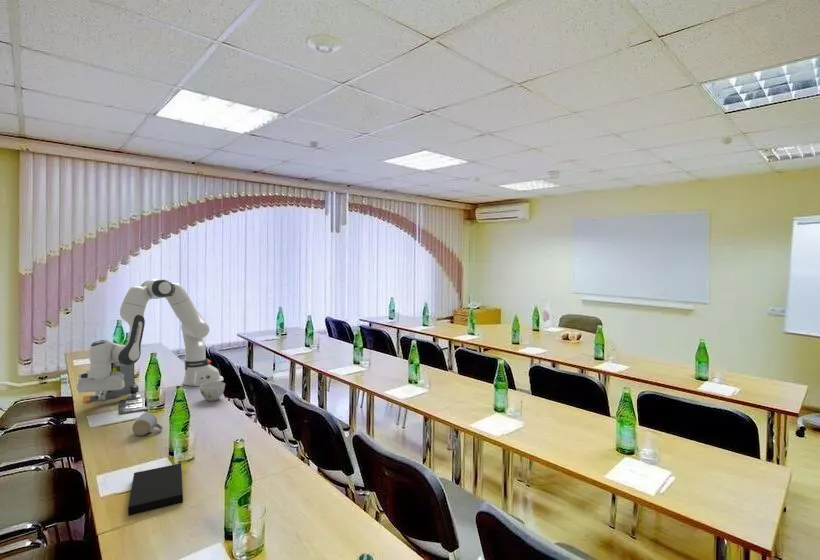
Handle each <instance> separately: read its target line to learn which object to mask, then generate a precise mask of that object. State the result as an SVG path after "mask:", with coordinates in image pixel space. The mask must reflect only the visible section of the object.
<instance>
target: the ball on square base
mask: <svg viewBox="0 0 820 560" xmlns="http://www.w3.org/2000/svg"><path fill="white" fill-rule="evenodd" d="M140 397H141V394H140V393H139V394H137V393H131V394H129V395H127V396H126V399H133V398H140Z"/></svg>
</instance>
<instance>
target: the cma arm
mask: <svg viewBox="0 0 820 560" xmlns="http://www.w3.org/2000/svg"><path fill="white" fill-rule="evenodd" d="M131 393H136V394H137V393H139V385H137V386H130V387H126V388H123V389H122V390H112V391H108V392H107V393H106V395H105V399H104V400H103V401H105V400H107V399H108V400H109V399H114V398H113V397H115V398H117V397H122V396H126V395H127V396H128V395H131ZM100 394H101V395H103V394H104V393H102V392H100ZM100 401H101V400H98V396H97V395H96V394H95V393H94V394H87V395H84V396H82V403H83V404H85V405H86V404H91V403H95V402H96V403H97V402H100Z"/></svg>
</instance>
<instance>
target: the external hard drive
mask: <svg viewBox="0 0 820 560" xmlns="http://www.w3.org/2000/svg"><path fill="white" fill-rule="evenodd" d="M182 470H183V469H182V463H177V464H176V463H175V464H171V465H165V466H161V467H156V468H151V469H147V470H140V471H136V472H134V473H133V476H132V477H133V478H132V483H131V490H130V494H129V500H128V507H127V516H128V517H129V516H134V515H138V514H142V513H147V512H150V511H154V510H157V509H162V508H167V507H171V506H174V505H179V504H182V503H184V492H183V472H182Z"/></svg>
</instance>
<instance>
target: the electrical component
mask: <svg viewBox="0 0 820 560" xmlns="http://www.w3.org/2000/svg"><path fill="white" fill-rule="evenodd" d="M111 372H122V373H123V374H124V383H125V387H124V388H126V387H130V386H138V384H136V382H135V363H134V364H132V365H125V364H122V363H115V362H113V363H111ZM122 373H121V374H122ZM101 393H103V391H101ZM114 398H116V397H113V398H112V399H114Z"/></svg>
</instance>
